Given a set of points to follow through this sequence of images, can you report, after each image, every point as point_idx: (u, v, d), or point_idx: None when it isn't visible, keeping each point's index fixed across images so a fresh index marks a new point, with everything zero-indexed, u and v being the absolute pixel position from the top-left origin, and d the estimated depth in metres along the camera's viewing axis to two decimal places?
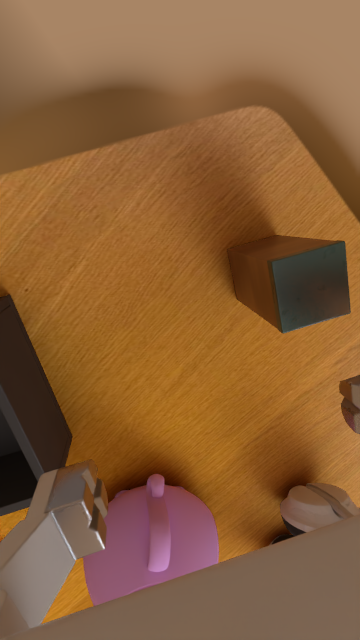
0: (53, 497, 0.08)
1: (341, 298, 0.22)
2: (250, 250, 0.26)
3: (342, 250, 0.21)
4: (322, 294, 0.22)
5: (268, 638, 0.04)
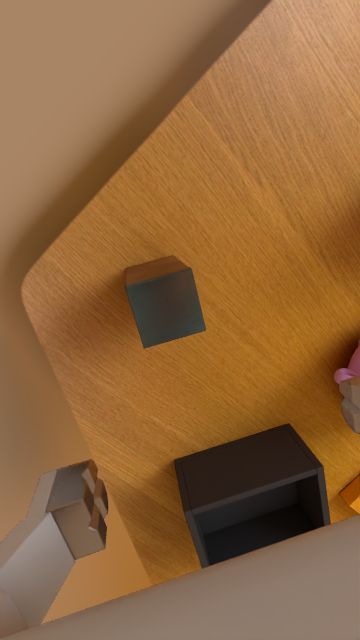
0: (53, 497, 0.08)
1: (176, 281, 0.24)
2: None
3: (133, 288, 0.24)
4: (172, 300, 0.24)
5: (268, 638, 0.04)
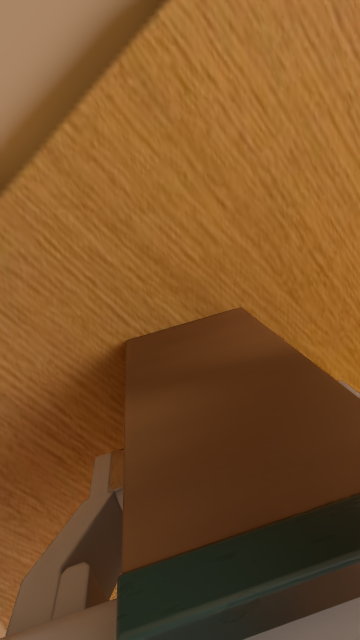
0: (113, 478, 0.08)
1: None
2: None
3: None
4: None
5: (268, 638, 0.04)
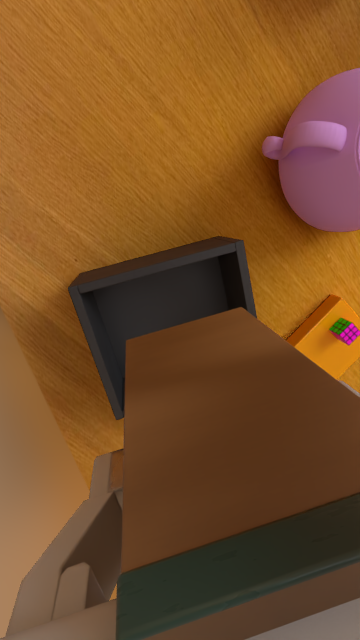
0: (113, 478, 0.08)
1: None
2: None
3: None
4: None
5: (268, 638, 0.04)
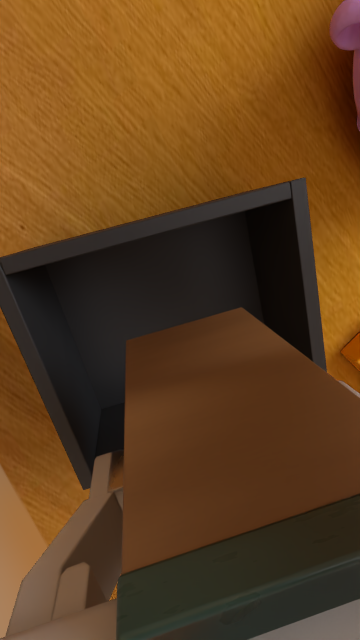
0: (113, 478, 0.08)
1: None
2: None
3: None
4: None
5: (268, 638, 0.04)
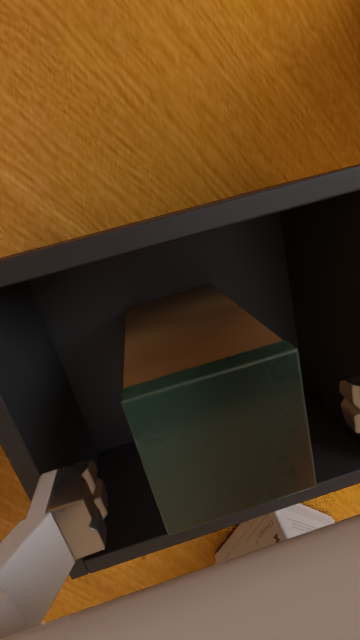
0: (53, 497, 0.08)
1: (258, 381, 0.09)
2: None
3: (142, 405, 0.09)
4: (243, 427, 0.09)
5: (268, 638, 0.04)
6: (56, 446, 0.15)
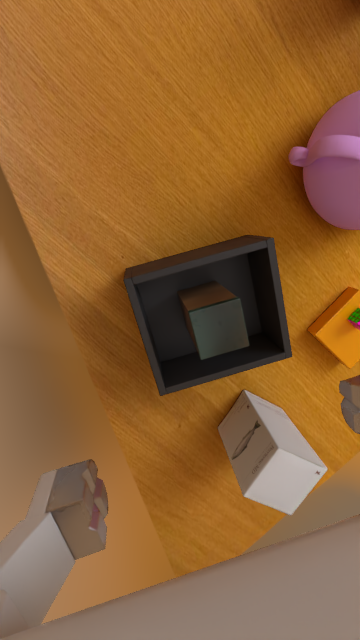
0: (53, 497, 0.08)
1: (228, 308, 0.31)
2: (189, 332, 0.37)
3: (195, 313, 0.31)
4: (224, 322, 0.31)
5: (268, 638, 0.04)
6: (153, 345, 0.36)
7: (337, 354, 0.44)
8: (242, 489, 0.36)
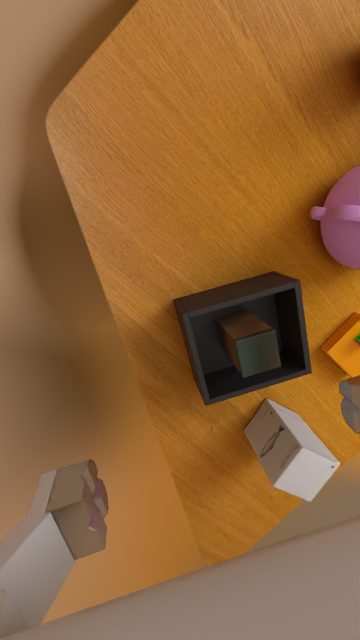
0: (53, 497, 0.08)
1: (266, 337, 0.39)
2: (227, 353, 0.46)
3: (240, 342, 0.39)
4: (262, 348, 0.39)
5: (268, 638, 0.04)
6: None
7: (344, 368, 0.53)
8: (272, 481, 0.45)
